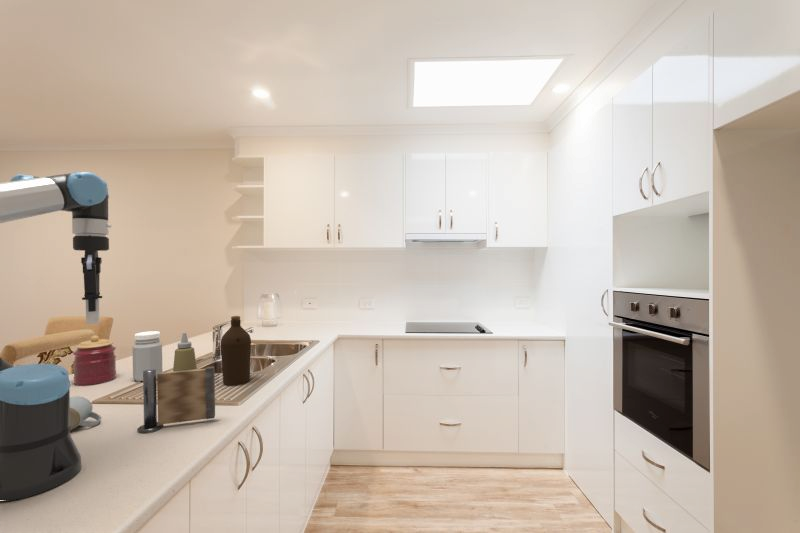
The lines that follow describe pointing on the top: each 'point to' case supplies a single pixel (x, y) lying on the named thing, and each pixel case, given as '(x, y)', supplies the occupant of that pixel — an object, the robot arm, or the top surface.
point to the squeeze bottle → (184, 356)
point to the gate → (186, 395)
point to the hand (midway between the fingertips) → (92, 323)
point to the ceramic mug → (82, 413)
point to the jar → (146, 354)
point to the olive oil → (236, 354)
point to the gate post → (149, 403)
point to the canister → (94, 362)
